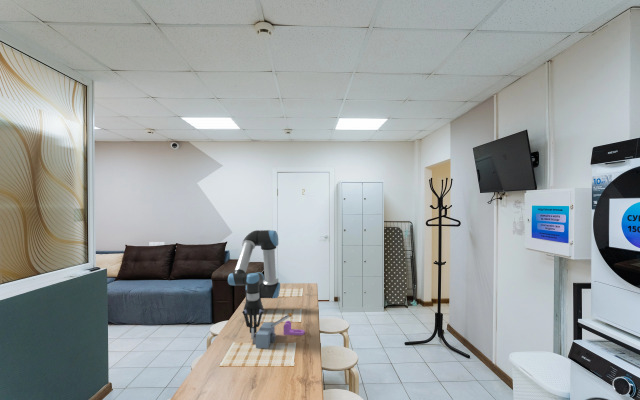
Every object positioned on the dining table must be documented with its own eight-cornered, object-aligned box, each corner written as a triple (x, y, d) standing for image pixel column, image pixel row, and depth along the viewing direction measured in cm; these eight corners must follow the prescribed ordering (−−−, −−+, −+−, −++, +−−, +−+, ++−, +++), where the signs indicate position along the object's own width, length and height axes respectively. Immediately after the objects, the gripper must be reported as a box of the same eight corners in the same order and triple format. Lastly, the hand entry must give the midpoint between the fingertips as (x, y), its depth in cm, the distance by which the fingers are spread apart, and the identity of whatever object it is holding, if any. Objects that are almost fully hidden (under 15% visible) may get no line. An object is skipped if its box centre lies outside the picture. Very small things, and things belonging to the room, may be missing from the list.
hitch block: (263, 334, 192) (263, 322, 192) (274, 334, 191) (274, 322, 191) (255, 347, 174) (255, 334, 174) (267, 348, 173) (267, 334, 173)
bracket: (283, 334, 191) (283, 323, 191) (285, 331, 197) (285, 320, 197) (303, 335, 190) (303, 324, 190) (305, 331, 195) (305, 321, 196)
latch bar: (272, 327, 183) (270, 323, 184) (293, 314, 183) (291, 311, 183) (272, 328, 181) (269, 325, 181) (292, 316, 180) (290, 312, 180)
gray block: (256, 338, 187) (256, 331, 187) (276, 338, 186) (276, 332, 186) (252, 344, 178) (252, 337, 178) (273, 344, 178) (273, 337, 178)
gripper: (240, 301, 180) (240, 340, 179) (262, 301, 179) (262, 341, 179) (244, 297, 187) (244, 335, 187) (265, 297, 187) (265, 335, 186)
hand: (253, 338), depth 183 cm, fingers closed
